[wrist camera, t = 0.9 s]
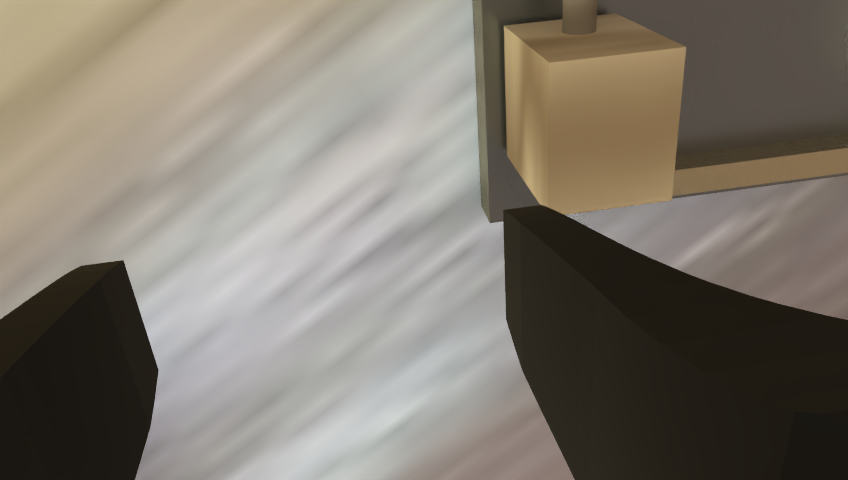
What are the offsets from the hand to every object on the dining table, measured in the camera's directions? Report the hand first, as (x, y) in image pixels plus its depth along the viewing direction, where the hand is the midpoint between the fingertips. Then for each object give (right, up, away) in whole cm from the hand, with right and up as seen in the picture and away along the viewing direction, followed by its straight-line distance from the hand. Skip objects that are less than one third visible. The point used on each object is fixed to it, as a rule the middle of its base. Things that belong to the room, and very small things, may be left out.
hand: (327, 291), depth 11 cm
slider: (+5, +8, +7) cm, 11 cm away
